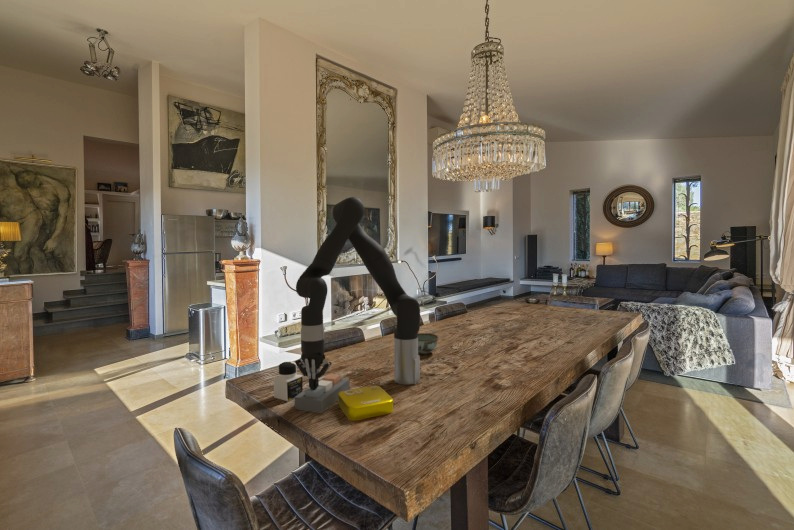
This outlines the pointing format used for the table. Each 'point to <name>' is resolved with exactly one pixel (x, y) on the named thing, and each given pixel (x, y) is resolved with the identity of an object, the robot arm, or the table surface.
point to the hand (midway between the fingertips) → (313, 388)
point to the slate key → (314, 392)
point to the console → (321, 398)
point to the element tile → (365, 402)
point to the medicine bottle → (287, 382)
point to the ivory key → (325, 384)
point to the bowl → (426, 343)
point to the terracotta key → (332, 378)
